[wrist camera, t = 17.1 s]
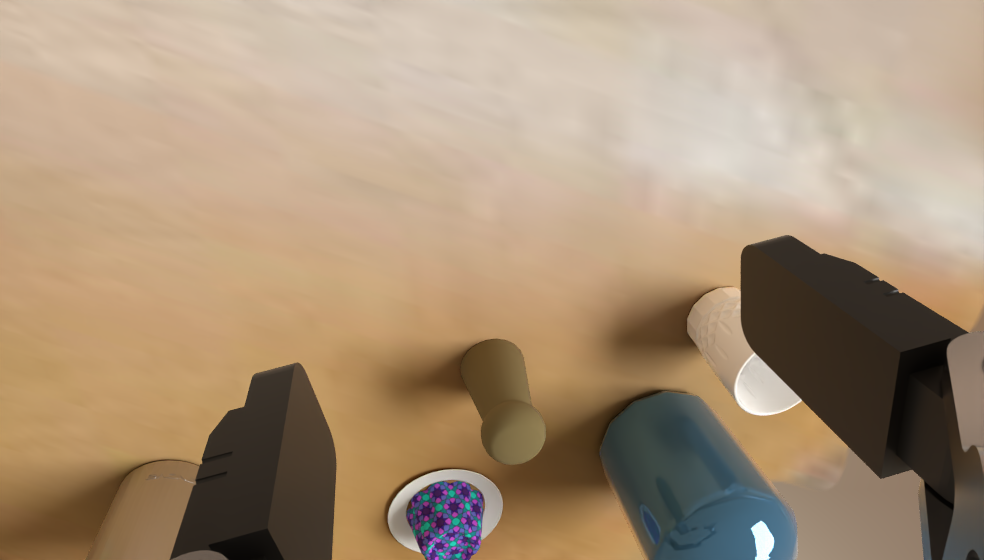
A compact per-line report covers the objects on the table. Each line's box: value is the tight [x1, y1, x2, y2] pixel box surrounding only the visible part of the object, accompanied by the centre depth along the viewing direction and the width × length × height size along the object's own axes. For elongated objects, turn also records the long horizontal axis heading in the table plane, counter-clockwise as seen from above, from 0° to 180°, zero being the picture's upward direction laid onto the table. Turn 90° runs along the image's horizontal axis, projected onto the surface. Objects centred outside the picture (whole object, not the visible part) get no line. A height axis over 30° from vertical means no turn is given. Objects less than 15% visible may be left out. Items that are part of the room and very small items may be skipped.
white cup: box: [687, 287, 802, 415], centre depth 56 cm, size 8×8×10 cm
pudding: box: [388, 469, 503, 560], centre depth 63 cm, size 12×12×5 cm
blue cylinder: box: [599, 391, 798, 560], centre depth 53 cm, size 14×13×30 cm
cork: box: [460, 339, 546, 465], centre depth 53 cm, size 6×6×11 cm
